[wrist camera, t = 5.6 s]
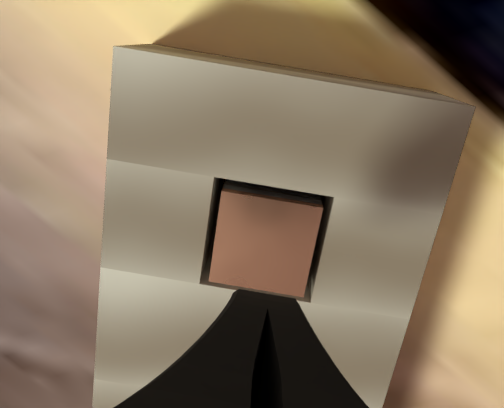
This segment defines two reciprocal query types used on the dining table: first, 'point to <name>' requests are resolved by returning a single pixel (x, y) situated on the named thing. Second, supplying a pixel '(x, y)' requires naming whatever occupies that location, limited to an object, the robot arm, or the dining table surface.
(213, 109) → the socket board
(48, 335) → the dining table surface
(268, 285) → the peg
